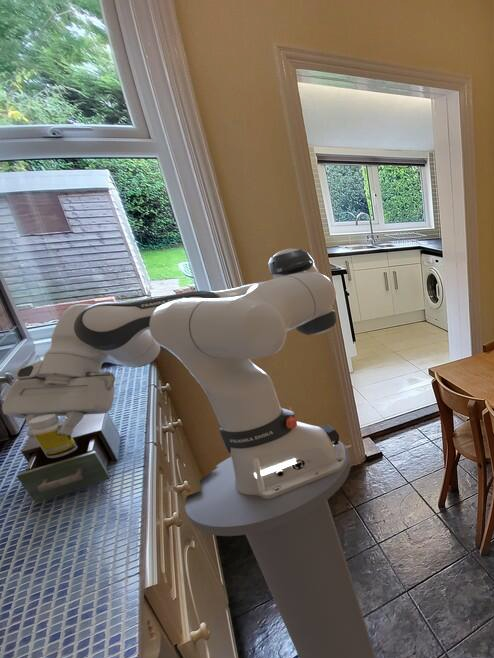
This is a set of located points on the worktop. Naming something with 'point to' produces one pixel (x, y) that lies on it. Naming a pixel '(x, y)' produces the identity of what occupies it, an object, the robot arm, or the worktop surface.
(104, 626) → the worktop surface
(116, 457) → the cabinet
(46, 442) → the supplement bottle
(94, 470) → the drawer
